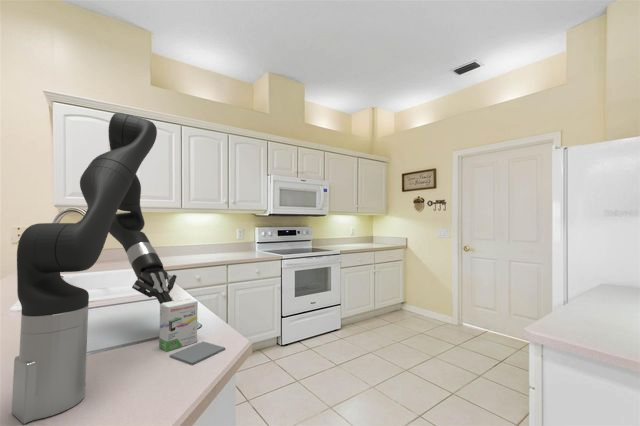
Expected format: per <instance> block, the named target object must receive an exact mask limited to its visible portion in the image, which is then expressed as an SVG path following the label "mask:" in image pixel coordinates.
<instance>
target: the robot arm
mask: <svg viewBox="0 0 640 426" xmlns="http://www.w3.org/2000/svg"><path fill="white" fill-rule="evenodd" d="M157 135H158V130H157V126H156V124H155V123H154V122H153V121H151V120H149V119H146V118H142V117H138V116H134V115H130V114H126V113H124V112H115V113H114V114H113V115H112V116H111V118H110V120H109V124H108V141H109V150H110V151H107V152H106V151H105V152H104V153H101V154H99V155H97V156H96V157H94V159H93V160H91V162H90V163H89V164H88V166H87V167H86V169H85V170H84V171H83V173H82V174H81V176H80V180H79V186H80V187H79V188H80V191H81V194H82V196H83V198H84V201H85V202H86V206H87V209H86V212H85V213H84V216H83V217H81V219H80V220H79V221H77V222H48V223H47V222H45V223H44V222H43V223H42V222H41V223H40V222H39V223H34V224H32V225H30V226H28V227H27V228H26V229H25V230H24V231H23V232H22V234H21V235H20V237H19V239H18V244H17V250H16V276H17V278H16V281H17V282H16V284H17V285H16V286H17V289H16V290H17V298H18V301H19V303H20V306H21V312H20V313H21V315H20V316H21V317H20V318H21V319H20V334H19V335H20V336H19V338H20V339H19V355H17V356H15V357H14V359H13V360H14V361H13V362H14V364H13V378H12V379H13V380H12V394H11V395H12V398H11V414H12V415H14V417H15V418H17V419H18V420H19V422H21V423H22V424H24V425H25V424H27V423H30V422H33V421H36V420H41V419H46V418H49V417H53V416H55V415H58V414H60V413H63V412H66V411H67V410H69V409H71V408H73V407H75V406H76V405H77V404H79V403H80V402H82V401H83V399H84V398H85V395H86V387H87V386H86V380H87V377H86V376H87V353H88V352H87V351H88V350H87V349H88V330H89V329H88V326H89V325H88V322H89V303H90V302H89V301H90V300H89V299H90V295H89V292H88V290H87V289H84V288H82V287H78V286H76V285H73V284H71V283H69V282H67V281H66V280H64V279H63V277H62V276H61V273H72V272H73V273H77V272H83V271H88V270H89V269H91V268H92V267H93V266H94V265H95V263H97V261H98V260H99V258H100V256H101V253H102V252H103V248H104V246H105V243H106V240H107V238H108V235H111V236H112V237H113V238H114V239H115V240H116V241H117V242H118V243H120V245H122V247H123V249H124V251H125V253H126V256H127V260H128V262H129V264H130V265H131V268H132V270H133V272H134V275H135V276H136V278H137V279H136V280H135V282H134V284H133V285H132V286H131V287H132V288H131V289H133V290H135V291H137V292H138V293H141V294H142V295H144V296H145V297H148V298H152V297H155V299H157V301H158V303H159V305H160V304H162V303H165V302H170V301H173V299H172V297H171V295H170V293H171V291H172V290H173V289H174V286H175V283H176V279H177V277H178V276H177V275H176V274H172V275H171V274H168V272H167V271H166V270H165V269H164V264H163V262H162V260H161V259H160V256H159V255H158V254H157V251H156V249H155V248H154V247H153V245H152V244H151V241H150V240H149V238H148V237H147V235H146V234H145V233H144V232H143V231H142V230H143V229H144V227H145V219H144V216H143V211H142V207H141V197H142V196H141V194H142V185H141V184H142V183H141V182H140V179H139V177H138V175H137V172H138V170H139V168H140V167H141V165H142V163H143V161H144V160H145V158H146V157H147V155H148V154H149V153H150V151H152V148H153V147H154V144H155V142H156V140H157ZM118 211H122V212H123V213H122V212H121V213H118Z"/></svg>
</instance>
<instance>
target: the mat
mask: <svg viewBox="0 0 640 426" xmlns="http://www.w3.org/2000/svg"><path fill="white" fill-rule="evenodd" d="M224 351H226V347H224V346H221V345H216V344H215V343H210V342H207V341H201V342H198V343H196V344H193V345H191V346H189V347H186V348H184V349H183V348H182V349H181V350H179V351H176V352H174V353H171V354H169V358H171V359H174V360H177V361H180V362H182V363H185V364H188V365H191V366H193V365H196V364H198V363H200V362H202V361H205V360H206V359H208V358H211V357H214V356H215V355H217V354H219V353H221V352H224Z"/></svg>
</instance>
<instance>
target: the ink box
mask: <svg viewBox="0 0 640 426" xmlns="http://www.w3.org/2000/svg"><path fill="white" fill-rule="evenodd" d="M198 309H199V308H198V301H197V300H195V299H192V298H191V297H190V298H189V297H187V298H183V299H177V300H172V301H170V302H165V303H162V304H160V303H159V339H158V340H159V341H158V343H159V344H158V347H159V349H161V348H162V350H163V351H164V352H169V351H173V350H176V349H179V347H180V348H182V346H183V347H185V345H186V346H188V345H192V344H195V343H197V342H198Z"/></svg>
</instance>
